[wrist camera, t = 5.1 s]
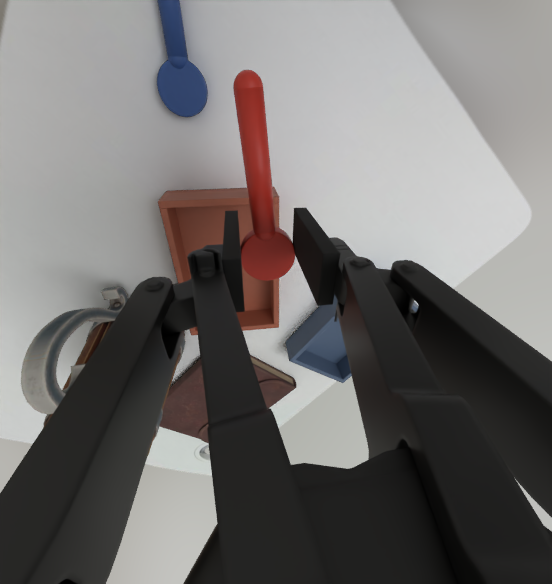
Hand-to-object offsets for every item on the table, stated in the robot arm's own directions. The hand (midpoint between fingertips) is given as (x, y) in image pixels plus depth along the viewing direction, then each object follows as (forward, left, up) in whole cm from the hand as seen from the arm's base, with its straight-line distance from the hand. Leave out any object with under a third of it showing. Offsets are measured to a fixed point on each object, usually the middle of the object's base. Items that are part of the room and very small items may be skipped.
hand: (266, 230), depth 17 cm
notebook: (+7, +31, -11) cm, 34 cm away
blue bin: (-12, +18, -11) cm, 24 cm away
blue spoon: (+5, -12, -11) cm, 17 cm away
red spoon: (0, -2, 0) cm, 2 cm away
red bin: (+3, +7, -11) cm, 14 cm away
